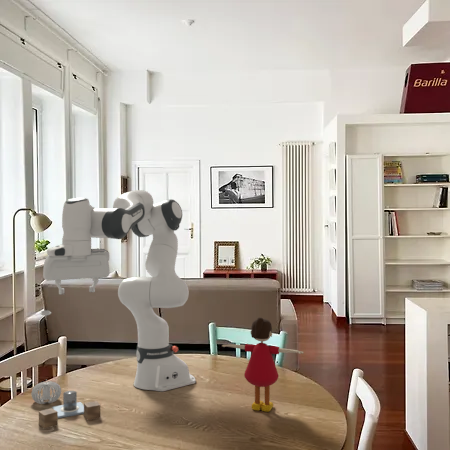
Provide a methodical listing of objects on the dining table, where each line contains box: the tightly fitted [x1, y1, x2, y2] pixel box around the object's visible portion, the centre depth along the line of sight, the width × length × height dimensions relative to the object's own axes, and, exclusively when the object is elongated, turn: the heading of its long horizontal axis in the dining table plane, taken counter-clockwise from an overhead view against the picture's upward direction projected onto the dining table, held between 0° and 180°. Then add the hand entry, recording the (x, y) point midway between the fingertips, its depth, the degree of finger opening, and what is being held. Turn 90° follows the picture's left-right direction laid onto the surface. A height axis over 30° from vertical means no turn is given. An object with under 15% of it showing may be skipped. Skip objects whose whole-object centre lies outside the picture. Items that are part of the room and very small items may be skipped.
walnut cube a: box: [83, 400, 101, 421], centre depth 163 cm, size 4×4×4 cm
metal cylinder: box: [62, 390, 78, 411], centre depth 168 cm, size 4×4×5 cm
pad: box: [51, 401, 84, 419], centre depth 168 cm, size 9×9×1 cm
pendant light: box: [30, 310, 62, 405], centre depth 176 cm, size 9×9×30 cm
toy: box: [221, 317, 304, 413], centre depth 168 cm, size 27×11×30 cm, turn 71°
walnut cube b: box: [38, 407, 59, 430], centre depth 157 cm, size 4×4×4 cm
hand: (77, 293), depth 168 cm, fingers open, 8 cm apart
